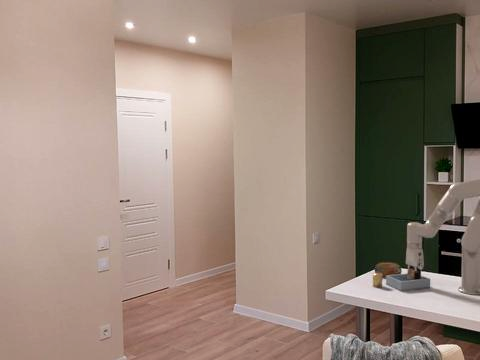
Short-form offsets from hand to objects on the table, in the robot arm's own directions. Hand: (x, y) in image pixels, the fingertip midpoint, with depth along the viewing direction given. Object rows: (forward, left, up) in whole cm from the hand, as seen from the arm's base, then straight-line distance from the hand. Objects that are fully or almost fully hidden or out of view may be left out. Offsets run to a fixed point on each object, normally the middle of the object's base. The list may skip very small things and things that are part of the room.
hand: (414, 278), depth 267 cm
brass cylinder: (+5, +19, -4) cm, 21 cm away
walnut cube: (0, 0, 0) cm, 0 cm away
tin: (+21, +3, -4) cm, 22 cm away
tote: (0, +4, -4) cm, 6 cm away
